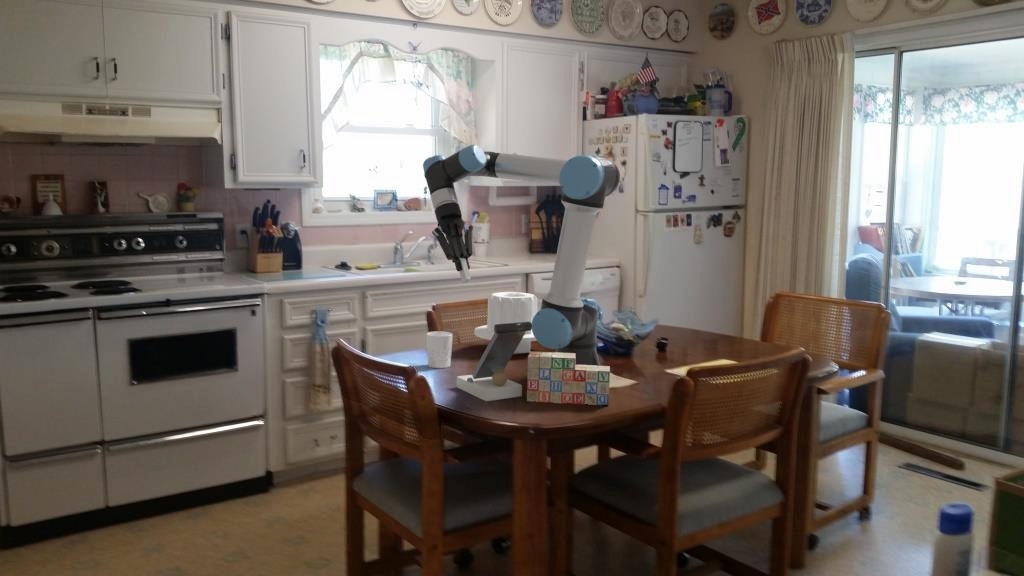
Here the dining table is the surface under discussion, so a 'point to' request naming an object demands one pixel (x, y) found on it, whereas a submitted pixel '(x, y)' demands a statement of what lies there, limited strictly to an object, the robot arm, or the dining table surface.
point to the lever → (500, 348)
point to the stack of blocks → (566, 380)
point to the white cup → (439, 349)
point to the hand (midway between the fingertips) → (466, 280)
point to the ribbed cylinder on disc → (510, 315)
